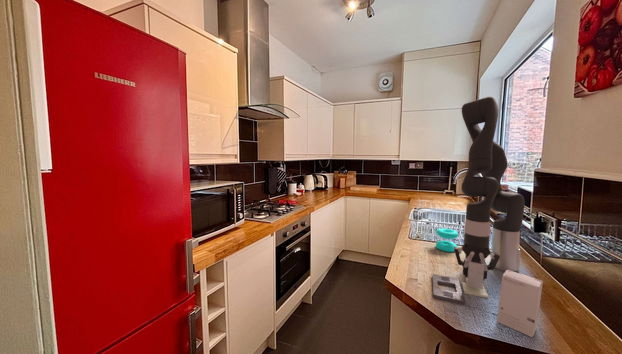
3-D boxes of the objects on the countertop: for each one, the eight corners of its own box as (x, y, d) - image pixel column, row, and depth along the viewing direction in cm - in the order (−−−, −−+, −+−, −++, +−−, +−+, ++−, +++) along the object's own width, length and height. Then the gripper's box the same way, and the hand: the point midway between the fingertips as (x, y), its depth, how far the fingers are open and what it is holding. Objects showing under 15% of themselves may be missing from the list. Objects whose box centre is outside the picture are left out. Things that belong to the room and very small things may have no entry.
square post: (480, 282, 88) (481, 258, 87) (482, 289, 84) (484, 263, 83) (465, 280, 90) (466, 256, 89) (467, 286, 86) (468, 261, 85)
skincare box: (496, 322, 71) (499, 274, 69) (502, 313, 74) (505, 268, 73) (535, 339, 64) (539, 286, 63) (539, 329, 68) (543, 279, 66)
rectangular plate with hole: (458, 281, 93) (458, 278, 93) (464, 304, 79) (464, 300, 79) (432, 276, 97) (432, 273, 97) (433, 297, 83) (433, 294, 83)
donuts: (432, 228, 128) (446, 226, 131) (431, 246, 129) (445, 244, 132) (448, 234, 118) (463, 232, 122) (447, 254, 119) (462, 251, 122)
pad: (483, 288, 89) (483, 286, 89) (488, 298, 82) (488, 296, 82) (461, 283, 92) (461, 281, 92) (464, 293, 85) (464, 291, 85)
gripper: (498, 231, 85) (495, 277, 87) (452, 226, 92) (450, 269, 93) (505, 238, 79) (501, 287, 80) (454, 232, 85) (452, 278, 86)
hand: (474, 277), depth 87 cm, fingers closed on square post, 4 cm apart
